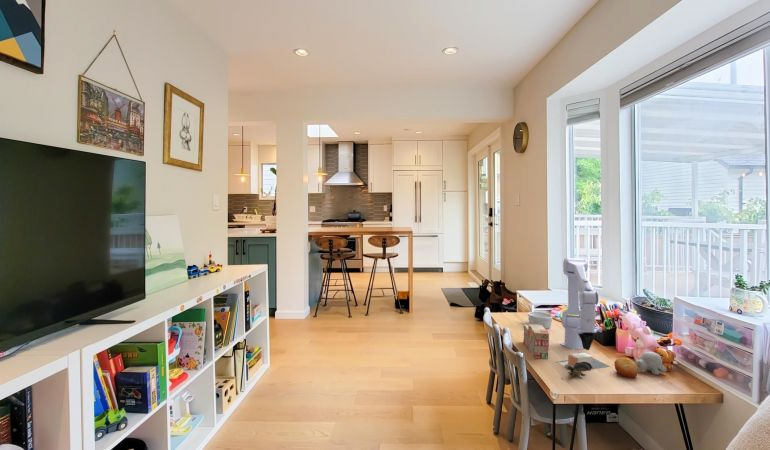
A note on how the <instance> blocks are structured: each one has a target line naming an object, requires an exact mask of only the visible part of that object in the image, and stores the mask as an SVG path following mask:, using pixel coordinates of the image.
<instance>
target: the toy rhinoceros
mask: <svg viewBox="0 0 770 450" xmlns="http://www.w3.org/2000/svg"><path fill="white" fill-rule="evenodd" d="M633 361H634V362H635V363H636V364H637V366H638V373H639V374H640V373H642V371H644V370H646V371H648V372H651V374H652V375H656V376H658V375H660V373H666V372H667V368H666V366H665V365H664V364H663V359H662V358H661V356H660V355H659V354H658V353H656V352H654V351H644V352H643V353H642V354H641V355H640V359H638V358H637V359H636V358H633ZM638 373H637V374H638Z"/></svg>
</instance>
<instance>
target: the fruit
mask: <svg viewBox="0 0 770 450" xmlns="http://www.w3.org/2000/svg"><path fill="white" fill-rule="evenodd" d="M614 369H615V371H616V373H618V375H619V376H621V377H624V378H636V377H637V376H638V366H637V364H636V363H635V360H633V359H631V358H629V357H619V358H617V359H616V360H615V361H614Z"/></svg>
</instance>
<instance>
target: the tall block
mask: <svg viewBox="0 0 770 450" xmlns="http://www.w3.org/2000/svg"><path fill="white" fill-rule="evenodd" d="M567 358H568V359H567V360H568V364H570V365H572V366H574V365H575V364H576V363H579V362H587V363H590V364H591V365H592V358H593V355H591V354H588V353H587V352H581V353H580V352H579V353H571V354H569V353H568V357H567Z"/></svg>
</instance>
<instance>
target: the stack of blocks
mask: <svg viewBox="0 0 770 450" xmlns="http://www.w3.org/2000/svg"><path fill="white" fill-rule="evenodd" d="M549 342H550V333H549V332H548V329H545V328H544V327H543V326H542V325H533V324H529V323H528V324H523V343H524V346H525V347H526V349H528V350H529V352H530V354H531V356H532V358H533V359H534V360H539V359H545V360H546V359H547V360H548V359H549V346H550V345H549V344H550V343H549Z"/></svg>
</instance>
